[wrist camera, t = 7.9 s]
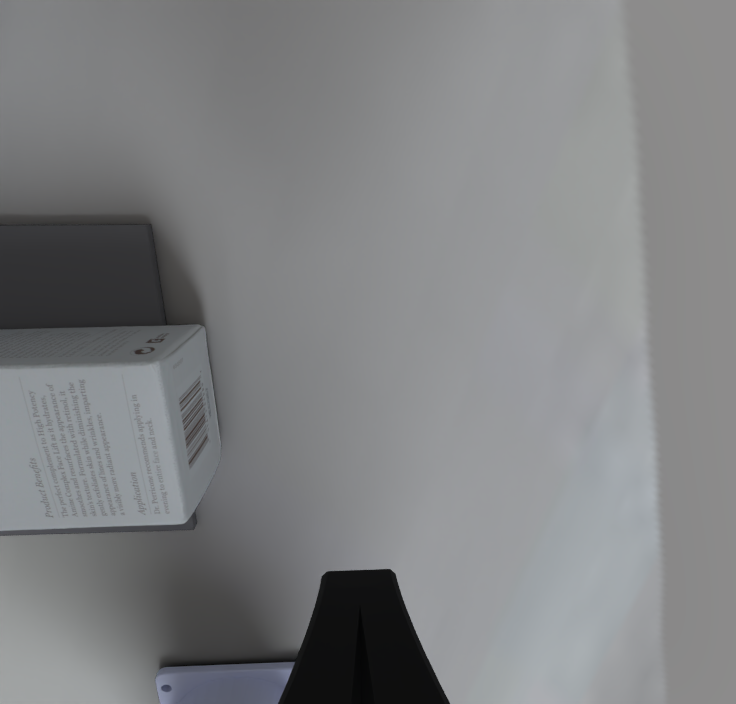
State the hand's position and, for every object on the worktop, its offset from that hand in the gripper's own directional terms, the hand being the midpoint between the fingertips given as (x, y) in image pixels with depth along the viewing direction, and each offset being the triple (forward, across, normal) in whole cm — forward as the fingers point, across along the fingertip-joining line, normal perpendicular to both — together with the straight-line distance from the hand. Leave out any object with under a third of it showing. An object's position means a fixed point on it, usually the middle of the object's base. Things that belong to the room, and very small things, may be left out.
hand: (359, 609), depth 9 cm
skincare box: (+8, +5, 0) cm, 9 cm away
